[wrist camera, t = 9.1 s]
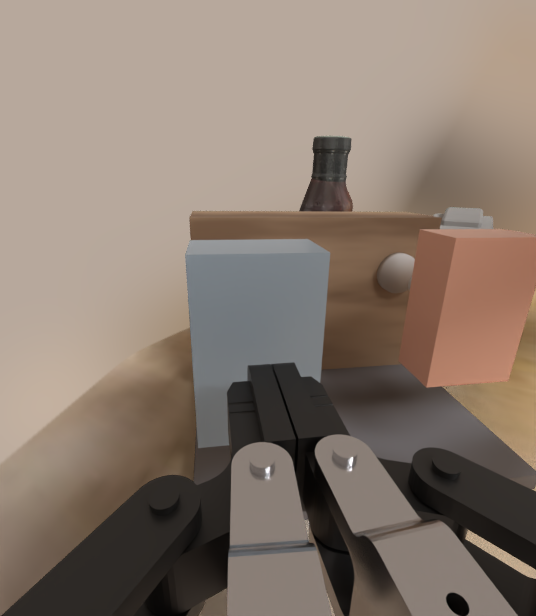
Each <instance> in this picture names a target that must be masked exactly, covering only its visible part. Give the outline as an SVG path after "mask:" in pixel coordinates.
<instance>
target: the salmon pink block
mask: <svg viewBox="0 0 536 616" xmlns="http://www.w3.org/2000/svg"><path fill="white" fill-rule="evenodd" d="M535 288H536V235H534V234H529V233H523V232H517V231H510V230H505V229H420V231H419V237H418V243H417V250H416V256H415V262H414V268H413V274H412V277H411V279H410V280H409V283H408V289H409V291H410V293H409V299H408V305H407V311H406V317H405V323H404V329H403V335H402V342H401V348H400V354H399V360H398V361H399V362H400V363H401V364H402V365H403V366H404V367H405V368H406V369H408V370H409V371H410V372H411V373H412V374H413V375H414V376H415V377H416V378H417V379H418V380H419V381H420V382H421V383H422V384H423V385H424V386H425V387H426V388H427V387H440V386H452V385H465V384H477V383H490V382H502V381H508V380H509V377H510V373H511V370H512V366H513V363H514V360H515V356H516V353H517V349H518V346H519V342H520V339H521V336H522V332H523V329H524V325H525V322H526V318H527V315H528V312H529V308H530V305H531V301H532V298H533V294H534V291H535Z"/></svg>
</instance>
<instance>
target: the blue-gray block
mask: <svg viewBox="0 0 536 616" xmlns="http://www.w3.org/2000/svg"><path fill="white" fill-rule="evenodd" d="M185 258H186V273H187V287H188V302H189V316H190V317H189V318H190V333H191V348H192V363H193V378H194V393H195V408H196V424H197V439H198V448H205V447H216V446H226V445H229V437H228V412H227V391H228V389H229V388H230V386H231V384H232V383H233V382H241V381H247V369H248V365H262V364H276V363H291V362H294V363H295V365H296V367H297V369H298V371H299V374H300V376H301V377H308V376H311V377H313V378H314V379H315V380H317V381H318V382H319V383H320V379H321V367H322V354H323V341H324V328H325V315H326V302H327V289H328V277H329V264H330V252H329V251H327V250H325V249H324V248H322V247H320V246H319V245H317V244H315V243H314V242H312V241H310V240H309V239H261V240H190V242H189V245H188V248H187V251H186V254H185Z"/></svg>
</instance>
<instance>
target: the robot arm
mask: <svg viewBox="0 0 536 616" xmlns="http://www.w3.org/2000/svg"><path fill="white" fill-rule="evenodd" d="M227 412H228V437H229V450H230V462H229V464H228V466H227V467H226V468H225V470H224V471H223V472H222V473H220V474H219V475H218V476H216V477H215V478H213V479H211V480H209V481H206V482H204V483H201V484H199V485H196V484H195V483H194V482H193V481H192V480H190V479H189V478H186V477H184V476H179V475H167V476H162V477H159V478H156V479H154V480H152V481H150V482H148V483H147V484H145V485H144V486H142V487H141V488H140V489H139V490H138V491H137V492H136V493H134V494H133V495H132V496H131V497H130V498H129V499H128V500H127V501H126V502H125V503H124V504H122V505H121V506H120V507H119V508H118V509H117V510H116V511H115V512H114V513H113V514H112V515H111V516H109V517H108V518H107V519H106V520H105V521H104V522H103V523H102V524H101V525H100V526H99V527H97V528H96V529H95V530H94V531H93V532H92V533H91V534H90V535H89V536H88V537H87V538H85V539H84V540H83V541H82V542H81V543H80V544H79V545H78V546H77V547H76V548H75V549H73V550H72V551H71V552H70V553H69V554H68V555H67V556H66V557H65V558H64V559H63V560H62V561H60V562H59V563H58V564H57V565H56V566H55V567H54V568H53V569H52V570H51V571H50V572H48V573H47V574H46V575H45V576H44V577H43V578H42V579H41V580H40V581H39V582H38V583H36V584H35V585H34V586H33V587H32V588H31V589H30V590H29V591H28V592H27V593H26V594H24V595H23V596H22V597H21V598H20V599H19V600H18V601H17V602H16V603H15V604H14V605H12V606H11V607H10V608H9V609H8V610H7V611H6V612H5V613H4V614H3V615H2V616H198V615H199V613H200V612H201V610H202V608H203V606H204V603H205V600H206V599H208V598H210V597H212V596H213V595H215V594H217V593H219V592H220V591H222V590H224V589H226V588H227V587H228V591H227V616H332V615H331V611H330V606H329V601H328V597H329V600H330V602H331V605H332V608H333V611H334V614H335V616H536V579H533V578H530V577H527V576H525V575H523V574H521V573H520V572H518V571H517V570H515V569H513V568H512V567H510V566H508V565H507V564H505V563H503V562H502V561H500V560H498V559H497V558H495V557H494V556H492V555H490V554H489V553H487V552H485V551H484V550H482V549H480V548H479V547H477V546H476V545H474V544H472V543H471V542H469V541H467V540H466V539H465V537H466V534H467V531H468V530H470V531H472V532H473V533H475V534H477V535H478V536H480V537H482V538H484V539H485V540H487V541H489V542H490V543H492V544H494V545H495V546H497V547H499V548H500V549H502V550H504V551H506V552H507V553H509V554H511V555H512V556H514V557H516V558H517V559H519V560H521V561H522V562H524V563H526V564H528V565H529V566H531V567H533V568H534V569H536V491H533V490H531V489H529V488H527V487H525V486H523V485H521V484H519V483H517V482H515V481H512V480H510V479H508V478H506V477H504V476H502V475H500V474H498V473H496V472H493V471H491V470H489V469H487V468H485V467H483V466H481V465H479V464H477V463H475V462H472V461H470V460H468V459H466V458H464V457H462V456H460V455H458V454H456V453H453V452H451V451H448V450H445V449H441V448H434V447H428V448H423V449H420V450H418V451H417V452H416V453H415V454H414V455H413V458H412V463H406V462H399V461H393V460H386V459H382V458H378V457H376V456H375V454H374V453H373V451H372V450H371V449H370V448H369V447H368V446H367V445H366V444H365V443H364V442H362V441H361V440H359V439H357V438H354V437H352V436H350V434H349V432H348V430H347V429H346V427H345V425H344V423H343V421H342V419H341V418H340V416H339V414H338V412H337V410H336V409H335V407H334V406H333V403H332V401H331V400H330V398H329V397H328V394H327V392H326V391H325V389H324V387H323V385H322V384H321V383H319V382H318V381H317V380H315V379H314V378H313V377H311V376H308V377H301V376H300V374H299V371H298V369H297V367H296V365H295V363H294V362H291V363H276V364H262V365H248V369H247V381H241V382H233V383H232V384H231V386H230V388H229V389H228V391H227ZM303 511H306V513H307V516H308V519H309V534H308V536H307V532H306V526H305V521H304V516H303ZM308 537H309V540H308ZM326 591H327V592H326ZM327 594H328V597H327Z"/></svg>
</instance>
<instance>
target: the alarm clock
mask: <svg viewBox="0 0 536 616" xmlns="http://www.w3.org/2000/svg"><path fill="white" fill-rule="evenodd" d="M433 216H434V217H441V218H442V220H441V225H440V229H493V218H492V217H491V216H483V210H481V209H476V208H455V207H454V208H453V207H450V208H447V209H446V211H445V213H444V214H434V215H433Z"/></svg>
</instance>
